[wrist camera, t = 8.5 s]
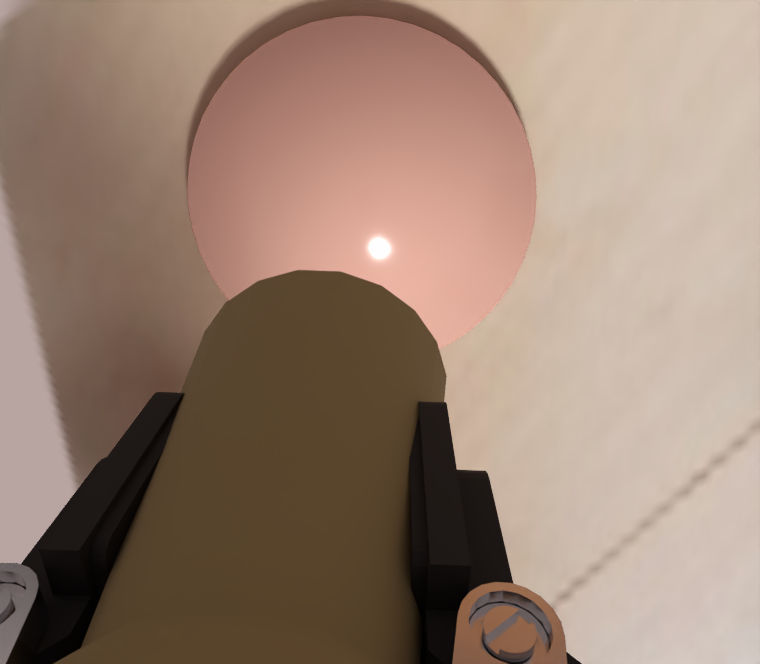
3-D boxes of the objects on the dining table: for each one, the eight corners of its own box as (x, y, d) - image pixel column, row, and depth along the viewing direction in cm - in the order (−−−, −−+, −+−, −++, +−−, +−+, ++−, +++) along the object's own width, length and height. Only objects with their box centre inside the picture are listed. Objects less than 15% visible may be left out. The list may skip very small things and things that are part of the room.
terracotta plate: (359, 409, 35) (358, 418, 34) (126, 202, 30) (117, 206, 29) (600, 217, 30) (607, 221, 29) (365, -81, 24) (364, -86, 24)
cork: (274, 514, 15) (46, 1351, 5) (145, 332, 13) (-679, 1194, 3) (483, 440, 14) (700, 1343, 4) (381, 224, 12) (305, 1062, 2)
